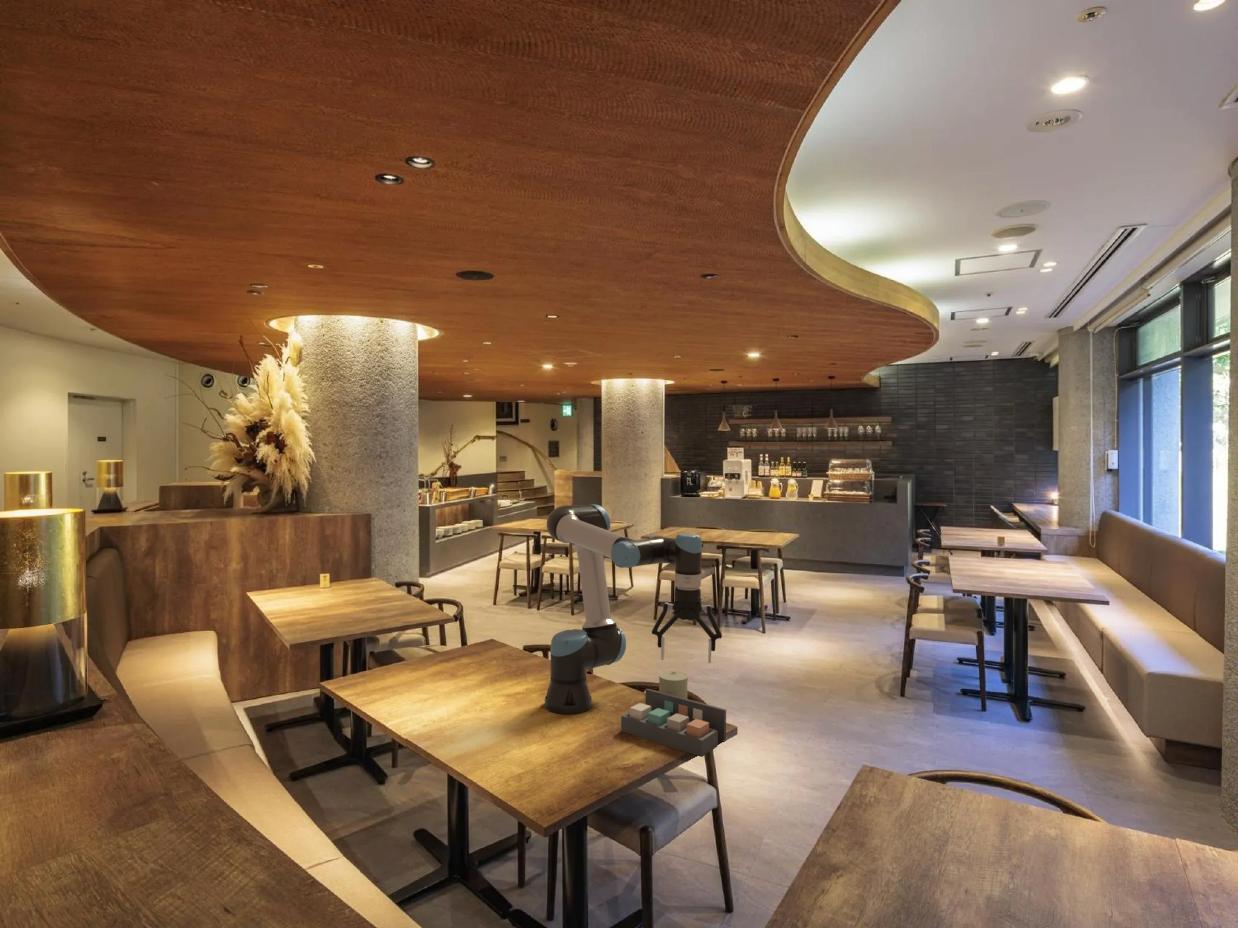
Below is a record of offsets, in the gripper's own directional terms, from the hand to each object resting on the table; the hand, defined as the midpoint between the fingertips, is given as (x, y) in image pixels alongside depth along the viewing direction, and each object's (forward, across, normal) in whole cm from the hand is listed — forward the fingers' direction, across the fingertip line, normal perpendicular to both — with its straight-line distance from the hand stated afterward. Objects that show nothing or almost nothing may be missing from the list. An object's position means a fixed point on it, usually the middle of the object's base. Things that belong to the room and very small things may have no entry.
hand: (686, 660), depth 199 cm
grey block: (+19, -2, -6) cm, 20 cm away
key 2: (+19, -7, -3) cm, 20 cm away
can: (+22, -4, +16) cm, 27 cm away
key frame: (+22, -4, -5) cm, 22 cm away
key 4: (+19, +4, -9) cm, 21 cm away
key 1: (+19, -13, 0) cm, 23 cm away
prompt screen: (+22, 0, +3) cm, 22 cm away
